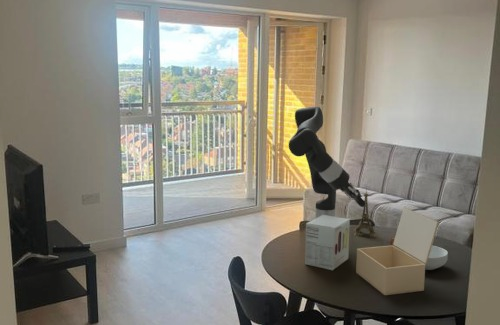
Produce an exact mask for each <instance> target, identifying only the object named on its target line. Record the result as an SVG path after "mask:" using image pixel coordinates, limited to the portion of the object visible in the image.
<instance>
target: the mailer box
mask: <svg viewBox="0 0 500 325" xmlns="http://www.w3.org/2000/svg"><path fill="white" fill-rule="evenodd" d="M355 264H356V266H355V267H356V268H355V270H356V271H355V272H356V274H357V275H358V276H359V277H360V278H361V277H362V279H363V280H365V281H366V282H367V283H369V284H370V285H371V286H372V287H374V288H375V289H376V290H377V291H379V292H380V293H381V294H382V295H384V296H389V295H398V294H406V293H413V292H422V291H425V278H426V277H425V276H426V275H425V274H426V270H425V264H424V263H422V262H420V261H419V260H417V259H415V258H413V257H412V256H410V255H408V254H407V253H405V252H403V251H401V250H400V249H398V248H396V247H395V246H393V245H392V246H391V245H382V246H381V245H380V246H371V247H361V248H360V247H359V248H356V263H355Z"/></svg>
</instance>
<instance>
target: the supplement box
mask: <svg viewBox="0 0 500 325" xmlns="http://www.w3.org/2000/svg"><path fill="white" fill-rule="evenodd" d="M350 221H351V219H350V218H345V217H339V216H335V217H334V216H328V215H321V216H319V217H317V218H313V219H312V220H310V221H308V222H306V223H305V262H304V263H305V265H308V266H312V267H316V268H321V269H325V270H329V271H334V270H335V269H336V268H339V266H341V265H342V264H343V263H345V262H346V261H347V260H349V248H350V244H349V243H350V223H351V222H350Z"/></svg>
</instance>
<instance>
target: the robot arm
mask: <svg viewBox="0 0 500 325" xmlns="http://www.w3.org/2000/svg"><path fill="white" fill-rule="evenodd" d="M294 119H295V120H294V121H295V124H296V127H297V128H296V129H297V130H296V132H295V134H294V135H293V136H291V138H290V139H289V141H288V149H289V151H290V153H291V154H292V155H293V156H295V157H303V156H305V159H306V161H307V166H308V168H309V171H310V179H311V185H312V189H313V192H314V193H315V194H320V195H327V197H326V198H323V199H321V200H317V201H316V202H315V214H314V215H315V216H314V217H315V218H317V217H319V216H321V215H328V216H334V217H336V201H337V190H340V191H341V193H344V194H345V196H347V197H348V198H349V199H352V201H355V203H356V204H357V205H358V206H359V207H361V208H364V205H365V204H366V202H365V201H364V200H365V199H363V198H362V197H363V196H362V194H361V192H360V190H359V189H357V188H355V187H354V184H353V183H352V182H349V181H350V174H349V173H348V172H347V171H346V170H345V168H344V167H342V166H341V165H340V164H339V163H338V161H336V160H335V159H334V158H333V157H332V156H331V155H330V154H329V153H328V152H327V148H326V145H325V144H324V143H323V141H322V140H320V139H319V137H318V135H317V133H318V132H319V131H320V129H321V128H322V127H323V125H324V114H323V111H322V109H321V108H320V107H319V106H315V105H314V106H308V107H301V108H298V109H296V110H295V112H294ZM315 218H314V219H315Z"/></svg>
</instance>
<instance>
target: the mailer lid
mask: <svg viewBox="0 0 500 325" xmlns="http://www.w3.org/2000/svg"><path fill="white" fill-rule="evenodd" d="M402 209H403V210H402V212H401V215H400V218H399V222H398V226H397V229H396V234H395V236H394V238H395V239H394V243H393V245H394V246H396V247H398V248H399V249H401V250H403V251H405V252H406V253H408V254H410V255H411V256H413V257H415V258H417V259H418V260H420V261H422V262H423V263H425V264H427V261H428V258H429V254H430V251H431V248H432V245H433V243H434V240H435V237H436V234H437V230H438V227H439V224H440V222H439V221H437V220H436V219H433V218H431V217H428V216H426V215H424V214H421V213H419V212H416V211H415V210H412V209H409V208H407V207H404V206H403V208H402Z"/></svg>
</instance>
